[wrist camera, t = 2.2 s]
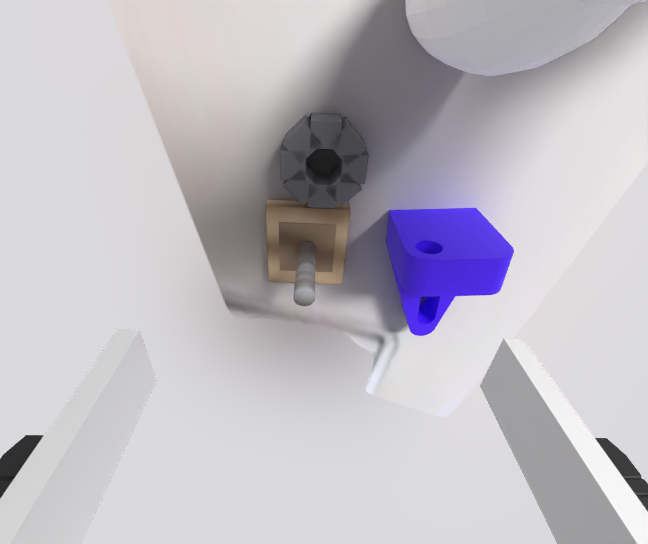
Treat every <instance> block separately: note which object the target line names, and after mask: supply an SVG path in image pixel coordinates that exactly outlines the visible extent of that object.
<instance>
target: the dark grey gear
mask: <svg viewBox="0 0 648 544" xmlns="http://www.w3.org/2000/svg"><path fill="white" fill-rule="evenodd" d="M317 148H318V149H333V150H334V151H335V153H336V154H337V155H338V156H339V157H340V163H339V165H338V166H337V167H336V168H335V169H334V170H332V171H331V172H330V173H315V171H314V170H313V169H312V168H311V167H310V166H309V165H308V164H307V163H306V160H307V157H308V156H310V155H311V154H312V153H313V152H314V151H315V150H316V149H317ZM366 149H367V148H366V146H365V143H364V141H363V139H362V138H361V137H360V135H359V134H358V133H357V132H356V130H355V129H354V128H353V126H352V125H351V124H350V123H349V121H348V120H347V119H346V118H344V119H343V120H341V117H340V114H324V113H312V114H311V121H310V120H309V118H308V117H307V116H306V115H305V116H304V117H303V118H302V119H301V120H300V121H299V122H298V123H297V124H296V125H295V126H294V127H293V128H292V129H291V130H290V131H289V132H288V133H287V134H286V136H285V139H284V141H283V144H282V147H281V150H280V171H281V180H284V184H283V186H284V187H285V188H286V189H287V190H288V191H289V192H290V193H291V194H292V195H293V196H294V197H295V198H296V199H297V200H298V201H299V202H300V203H301V204H302V205H303V204H304V203H305V202H306V201H307V200H308V207H315V208H335V201H336V202H337V203H338V204H339V205H340V206H342V205H343V204H344V203H346V202H347V201H348V200H349V199H351V198H352V197H353V196H354V195H355V194H357V193H358V192H359V191H360V190H362V188H361V185H360V184H365V179H366V172H367V164H368V156H369V155H368V153H367V150H366Z"/></svg>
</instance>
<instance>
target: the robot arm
mask: <svg viewBox="0 0 648 544" xmlns="http://www.w3.org/2000/svg"><path fill="white" fill-rule="evenodd" d="M156 381H157V380H156V377H155V374H154V371H153V369H152V366H151V362H150V359H149V356H148V353H147V350H146V347H145V344H144V341H143V339H142V336H141V333H140V330H129V329H117V330H116V331H115V333H114V334H113V336H112V337H111V339H110V340H109V342H108V343H107V344H106V346H105V347H104V349H103V350H102V352H101V353H100V355H99V356H98V357H97V359H96V360H95V362H94V363H93V365H92V366H91V368H90V369H89V371H88V372H87V373H86V375H85V376H84V378H83V379H82V381H81V382H80V384H79V385H78V387H77V388H76V390H75V391H74V392H73V394H72V395H71V397H70V398H69V400H68V401H67V403H66V404H65V406H64V407H63V408H62V410H61V411H60V413H59V414H58V416H57V417H56V419H55V420H54V422H53V423H52V424H51V426H50V427H49V429H48V430H47V432H46V433H45V435H40V436H39V435H38V436H37V435H26V436H25V437H24V438H22V439H21V440H20V441H19V442H18V443H16V444H15V445H14V446H13V447H12V448H11V449H9V450H8V451H7V452H6V453H5V454H4V455H3V456H2V458H1V459H0V544H81V543H82V541H83V539H84V537H85V534H86V532H87V530H88V528H89V526H90V524H91V522H92V520H93V517H94V515H95V513H96V511H97V509H98V507H99V504H100V502H101V500H102V498H103V495H104V493H105V491H106V489H107V487H108V485H109V483H110V481H111V479H112V476H113V474H114V472H115V470H116V467H117V466H118V463H119V461H120V459H121V457H122V455H123V453H124V451H125V448H126V446H127V444H128V442H129V440H130V438H131V435H132V433H133V431H134V429H135V427H136V424H137V422H138V420H139V418H140V416H141V414H142V412H143V409H144V407H145V405H146V403H147V401H148V398H149V396H150V394H151V392H152V390H153V388H154V386H155V384H156ZM480 386H481V389H482V391H483V392H484V395H485V397H486V399H487V401H488V403H489V405H490V407H491V409H492V411H493V413H494V415H495V417H496V419H497V421H498V423H499V425H500V428H501V430H502V431H503V434H504V436H505V438H506V440H507V442H508V444H509V446H510V448H511V450H512V452H513V454H514V456H515V458H516V460H517V462H518V464H519V466H520V468H521V470H522V472H523V474H524V476H525V479H526V481H527V483H528V485H529V487H530V489H531V491H532V493H533V495H534V497H535V499H536V500H537V503H538V505H539V507H540V509H541V511H542V513H543V515H544V517H545V519H546V521H547V523H548V525H549V527H550V530H551V532H552V534H553V536H554V538H555V540H556V542H557V544H648V484H647V482H646V481H645V480H643V479H642V478H641V475H640V473H639V472H638V471H637V469H636V468H635V467H634V465H633V464H632V463H631V461H630V460H629V459H628V457H627V456H626V455H625V454H624V453H623V452H621V451H620V450H619V449H618V448H617V447H616V446H615V445H614V444H612V443H611V442H610V441H609V440H608V439H607V438H594V436H593V435H592V433H591V432H590V431H589V429H588V428H587V426H586V425H585V424H584V422H583V421H582V419H581V418H580V417H579V415H578V414H577V413H576V411H575V410H574V408H573V407H572V406H571V404H570V403H569V401H568V400H567V399H566V397H565V396H564V394H563V393H562V392H561V390H560V389H559V387H558V386H557V385H556V383H555V382H554V380H553V379H552V378H551V376H550V375H549V374H548V372H547V371H546V369H545V368H544V366H543V365H542V364H541V362H540V361H539V360H538V358H537V357H536V355H535V354H534V353H533V351H532V350H531V348H530V347H529V346H528V344H527V343H526V341H525V340H524V339H510V338H504V339H503V341H502V343H501V345H500V347H499V349H498V351H497V353H496V355H495V357H494V359H493V361H492V363H491V365H490V367H489V369H488V371H487V373H486V375H485V377H484V379H483V381H482V383H481V385H480Z"/></svg>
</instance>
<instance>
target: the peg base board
mask: <svg viewBox="0 0 648 544" xmlns="http://www.w3.org/2000/svg"><path fill="white" fill-rule="evenodd" d="M349 218H350V206H349V203H344V204H343V205H342V206H340V205H339V204H338V203H335V208H315V207H308V201H306V202H305V203H304V204H303V205H302V204H301V203H300V202H299V201H290V200H270V199H268V200H267V203H266V226H267V249H268V272H269V282H295V287H294V301H295V302H296V303H297V304H298V305H301V306H308V305H311V304H312V303H313V302H314V300H315V283H322V284H342V281H343V272H344V263H345V254H346V245H347V236H348V227H349Z"/></svg>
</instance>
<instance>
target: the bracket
mask: <svg viewBox="0 0 648 544" xmlns="http://www.w3.org/2000/svg"><path fill="white" fill-rule="evenodd" d="M386 243H387V247H388V251H389V255H390V259H391V263H392V267H393V271H394V275H395V279H396V282H397V286H398V290H399V294H400V298H401V302H402V306H403V310H404V313H405V316H406V319H407V323H408V326H409V329H410V331H411V333H413V334H414V335H418V336H423V335H427V334H429V333H431V332H432V331H433V330H434V329H435V327H436V326H437V324H438V323H439V321H440V319H441V318H442V316H443V315H444V313H445V312H446V310H447V308H448V307H449V305H450V304H451V302H452V301H453V299H454V297H455V296H470V295H492V294H496V293H498V292H499V291H500V290H501V287H502V284H503V281H504V278H505V276H506V273H507V270H508V267H509V264H510V261H511V258H512V256H513V253H514V249H513V247H512V246H511V245H510V244H509V243H508V242H507V241H506V240H505V239H504V238H503V236H502V235H501V234H500V233H499V232H498V231H497V230H496V229H495V228H494V227H493V226H492V225H491V224H490V223H489V221H488V220H487V219H486V218H485V217H484V216H483V215H482V214H481V213H480V212H479V211H478V210H477V209H476V208H457V209H420V210H389V218H388V228H387V239H386ZM421 297H428V298H427V300H426V302H424V303H423V304H420V300H421Z"/></svg>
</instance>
